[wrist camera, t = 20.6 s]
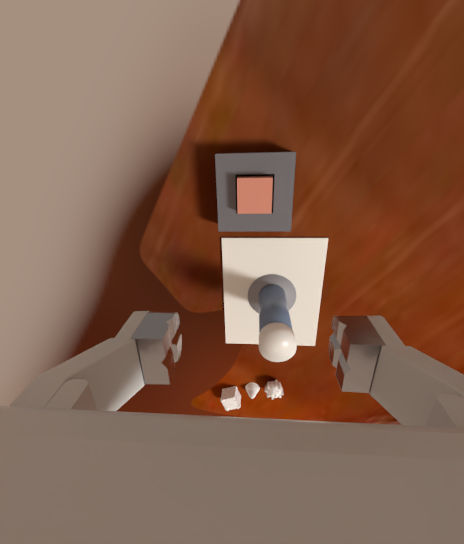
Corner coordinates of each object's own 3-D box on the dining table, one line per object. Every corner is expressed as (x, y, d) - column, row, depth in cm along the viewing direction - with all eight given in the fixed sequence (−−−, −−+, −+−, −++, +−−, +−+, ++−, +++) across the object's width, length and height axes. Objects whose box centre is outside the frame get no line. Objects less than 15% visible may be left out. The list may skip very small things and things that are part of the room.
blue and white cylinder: (258, 283, 46) (259, 331, 34) (286, 283, 45) (298, 332, 33) (257, 307, 47) (258, 361, 36) (285, 308, 47) (295, 362, 35)
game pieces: (227, 398, 58) (226, 411, 55) (221, 386, 57) (219, 399, 54) (284, 386, 55) (285, 400, 52) (279, 374, 54) (280, 387, 51)
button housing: (218, 153, 38) (215, 153, 35) (292, 151, 37) (296, 151, 34) (221, 224, 42) (218, 231, 39) (288, 224, 42) (290, 231, 38)
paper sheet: (221, 237, 43) (221, 238, 43) (327, 237, 42) (328, 238, 42) (225, 342, 51) (225, 343, 51) (314, 344, 50) (315, 346, 50)
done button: (238, 175, 37) (237, 178, 35) (271, 175, 37) (272, 177, 34) (238, 208, 39) (237, 213, 36) (270, 208, 39) (271, 213, 36)
